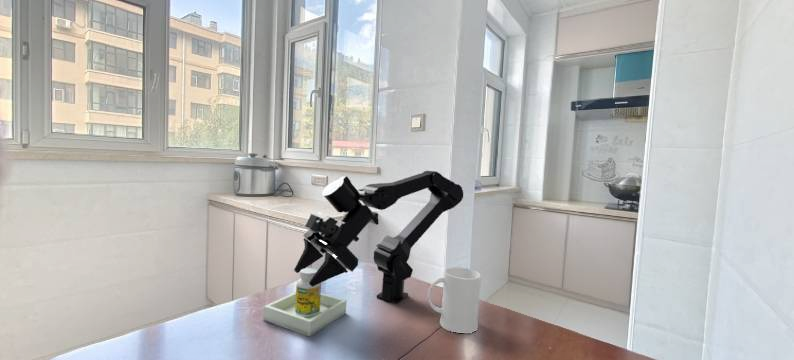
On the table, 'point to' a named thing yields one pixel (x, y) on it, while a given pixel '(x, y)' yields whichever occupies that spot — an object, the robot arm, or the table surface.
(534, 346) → the table surface
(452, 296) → the mug
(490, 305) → the table surface
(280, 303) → the tray
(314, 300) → the supplement bottle
